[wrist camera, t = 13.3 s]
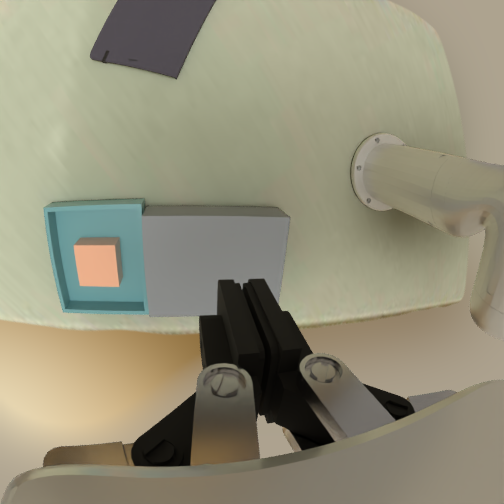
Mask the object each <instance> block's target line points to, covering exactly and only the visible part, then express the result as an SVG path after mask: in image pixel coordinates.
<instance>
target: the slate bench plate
mask: <svg viewBox="0 0 504 504" xmlns="http://www.w3.org/2000/svg"><path fill="white" fill-rule="evenodd" d="M289 224H290V217H289V216H288V215H287V214H285V213H284V212H283V211H282V210H281V209H279V208H275V207H244V206H147V207H146V209H145V211H144V213H143V214H142V237H143V254H144V268H145V280H146V291H147V300H148V309H149V317H179V316H200V315H217V289H218V280H225V279H234V282H235V283H240V285H241V288H242V287H243V283H248V280H249V279H262V278H264V279H265V281H266V283H267V284H268V286H269V288H270V290H271V292H272V294H273V295H274V297H275V299H276V301H277V303H278V304H279V297H280V290H281V283H282V276H283V269H284V262H285V254H286V247H287V239H288V231H289Z"/></svg>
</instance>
